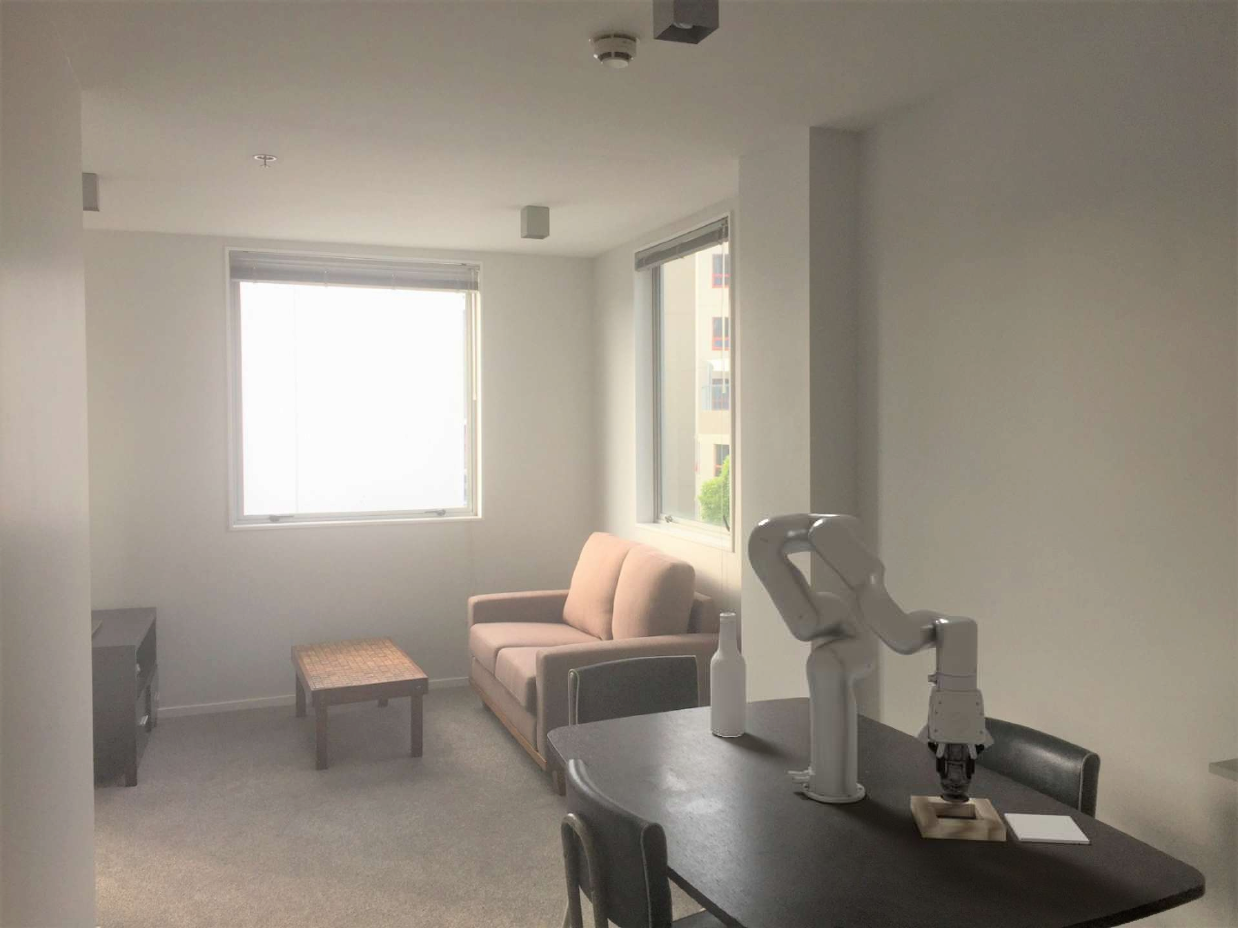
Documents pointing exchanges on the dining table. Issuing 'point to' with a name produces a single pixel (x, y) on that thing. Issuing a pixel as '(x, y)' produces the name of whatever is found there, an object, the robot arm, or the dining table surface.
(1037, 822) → the rubber mat
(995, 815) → the frame
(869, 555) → the robot arm
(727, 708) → the alcohol
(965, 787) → the black chess piece
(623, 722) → the dining table surface
